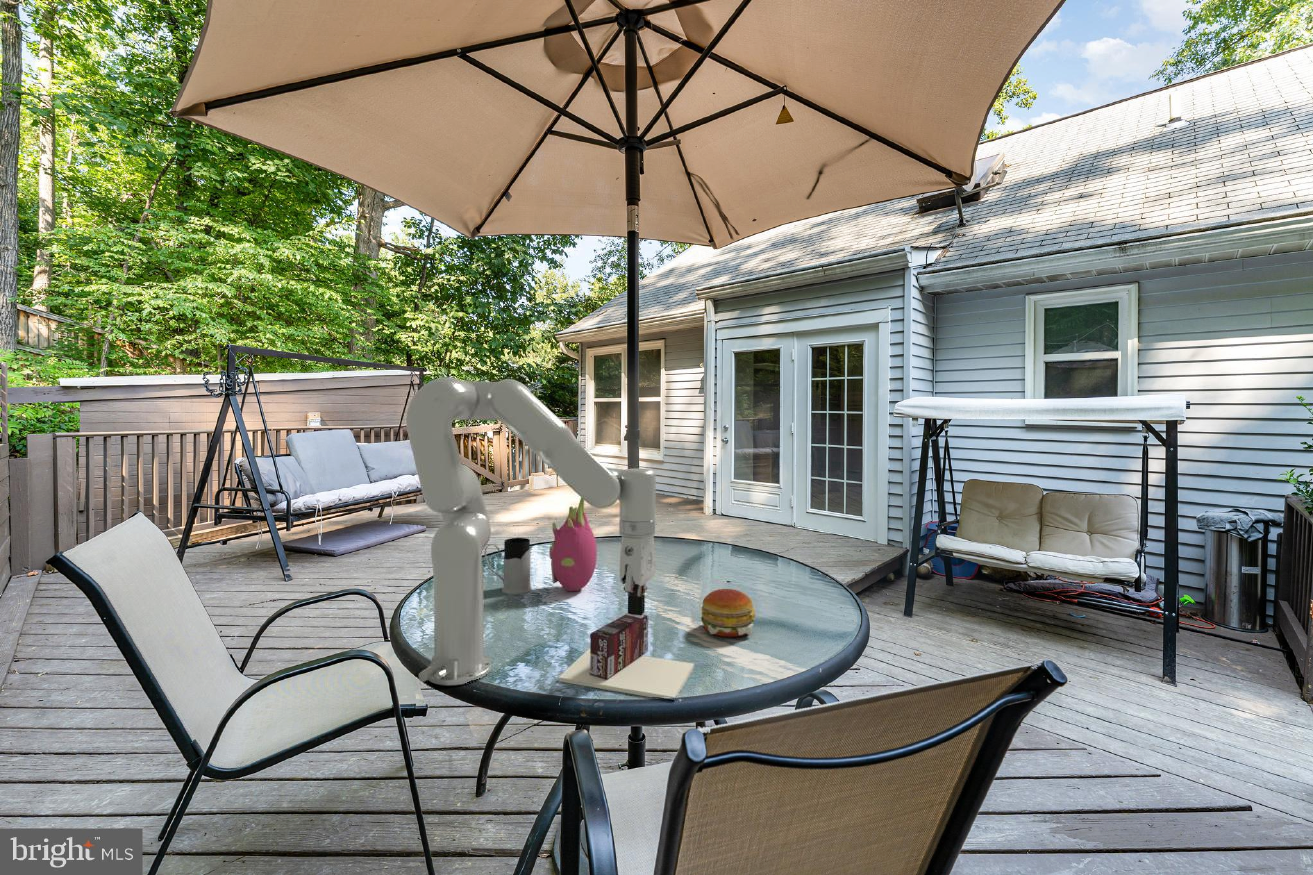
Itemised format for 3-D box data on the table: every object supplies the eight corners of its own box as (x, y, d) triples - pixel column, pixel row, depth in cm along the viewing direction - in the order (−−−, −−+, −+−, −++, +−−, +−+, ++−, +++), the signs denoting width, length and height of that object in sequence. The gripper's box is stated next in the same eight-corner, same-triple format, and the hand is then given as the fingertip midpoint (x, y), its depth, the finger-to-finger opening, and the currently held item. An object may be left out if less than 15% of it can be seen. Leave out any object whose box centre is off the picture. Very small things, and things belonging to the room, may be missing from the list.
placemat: (674, 701, 104) (674, 697, 104) (558, 681, 112) (558, 677, 112) (693, 667, 119) (694, 663, 119) (589, 651, 126) (589, 647, 126)
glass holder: (527, 594, 166) (528, 543, 165) (479, 593, 166) (480, 543, 165) (534, 585, 174) (534, 537, 174) (489, 584, 175) (489, 536, 174)
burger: (723, 616, 149) (724, 579, 149) (766, 631, 140) (767, 591, 139) (689, 629, 140) (690, 590, 139) (732, 646, 130) (733, 603, 130)
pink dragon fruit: (561, 580, 180) (561, 487, 179) (602, 582, 178) (603, 488, 177) (542, 598, 162) (542, 494, 161) (588, 601, 160) (588, 496, 159)
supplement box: (649, 651, 124) (607, 681, 111) (631, 646, 127) (587, 675, 113) (650, 613, 124) (607, 638, 110) (631, 609, 126) (588, 633, 113)
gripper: (642, 535, 110) (641, 628, 111) (664, 522, 124) (663, 604, 125) (606, 533, 112) (606, 623, 113) (632, 520, 127) (631, 600, 127)
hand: (636, 613), depth 119 cm, fingers closed
